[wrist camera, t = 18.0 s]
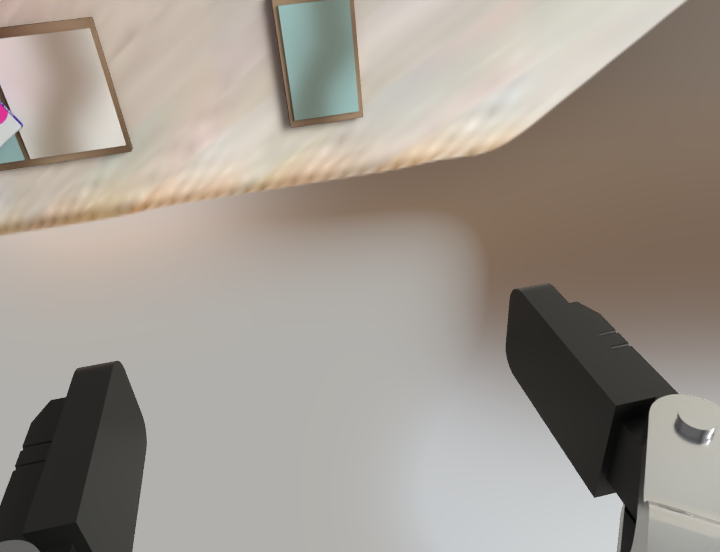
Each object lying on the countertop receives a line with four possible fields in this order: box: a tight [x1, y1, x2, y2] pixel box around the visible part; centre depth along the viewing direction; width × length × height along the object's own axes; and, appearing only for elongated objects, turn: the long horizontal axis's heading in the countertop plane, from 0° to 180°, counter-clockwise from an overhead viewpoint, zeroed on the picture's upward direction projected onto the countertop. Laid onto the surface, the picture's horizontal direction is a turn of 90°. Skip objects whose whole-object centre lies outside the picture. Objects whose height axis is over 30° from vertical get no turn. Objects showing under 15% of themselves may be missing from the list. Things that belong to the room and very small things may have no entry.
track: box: [0, 0, 363, 171], centre depth 35 cm, size 28×8×1 cm, turn 95°
